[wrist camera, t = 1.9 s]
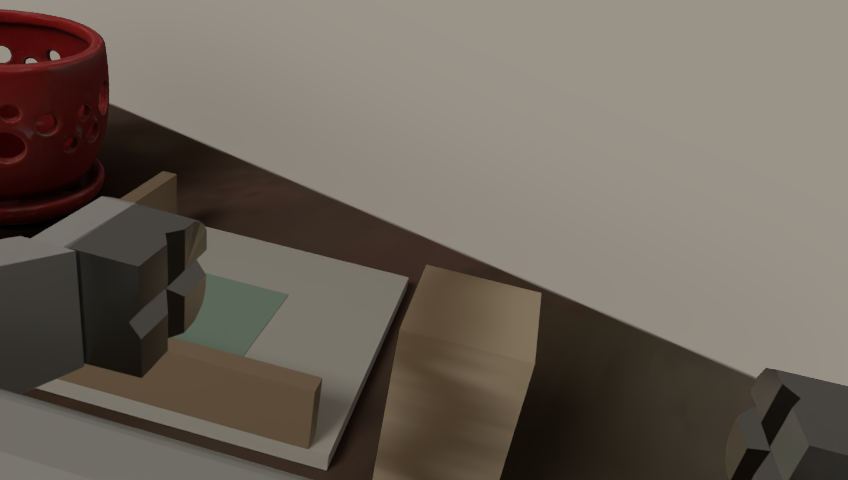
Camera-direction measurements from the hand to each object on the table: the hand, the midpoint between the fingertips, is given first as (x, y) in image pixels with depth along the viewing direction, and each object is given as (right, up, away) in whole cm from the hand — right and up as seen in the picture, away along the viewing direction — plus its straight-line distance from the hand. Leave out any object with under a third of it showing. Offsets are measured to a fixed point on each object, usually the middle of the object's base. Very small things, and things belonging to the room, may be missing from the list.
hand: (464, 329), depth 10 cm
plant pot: (-30, +4, +39) cm, 49 cm away
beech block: (-1, -12, +20) cm, 23 cm away
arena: (-12, -4, +30) cm, 33 cm away
